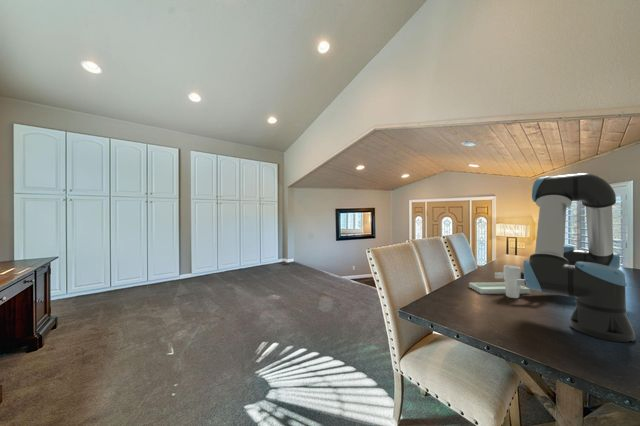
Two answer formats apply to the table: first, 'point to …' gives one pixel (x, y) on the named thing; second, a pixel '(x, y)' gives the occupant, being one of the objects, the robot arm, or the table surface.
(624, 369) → the table surface
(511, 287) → the drinking glass
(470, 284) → the tray
